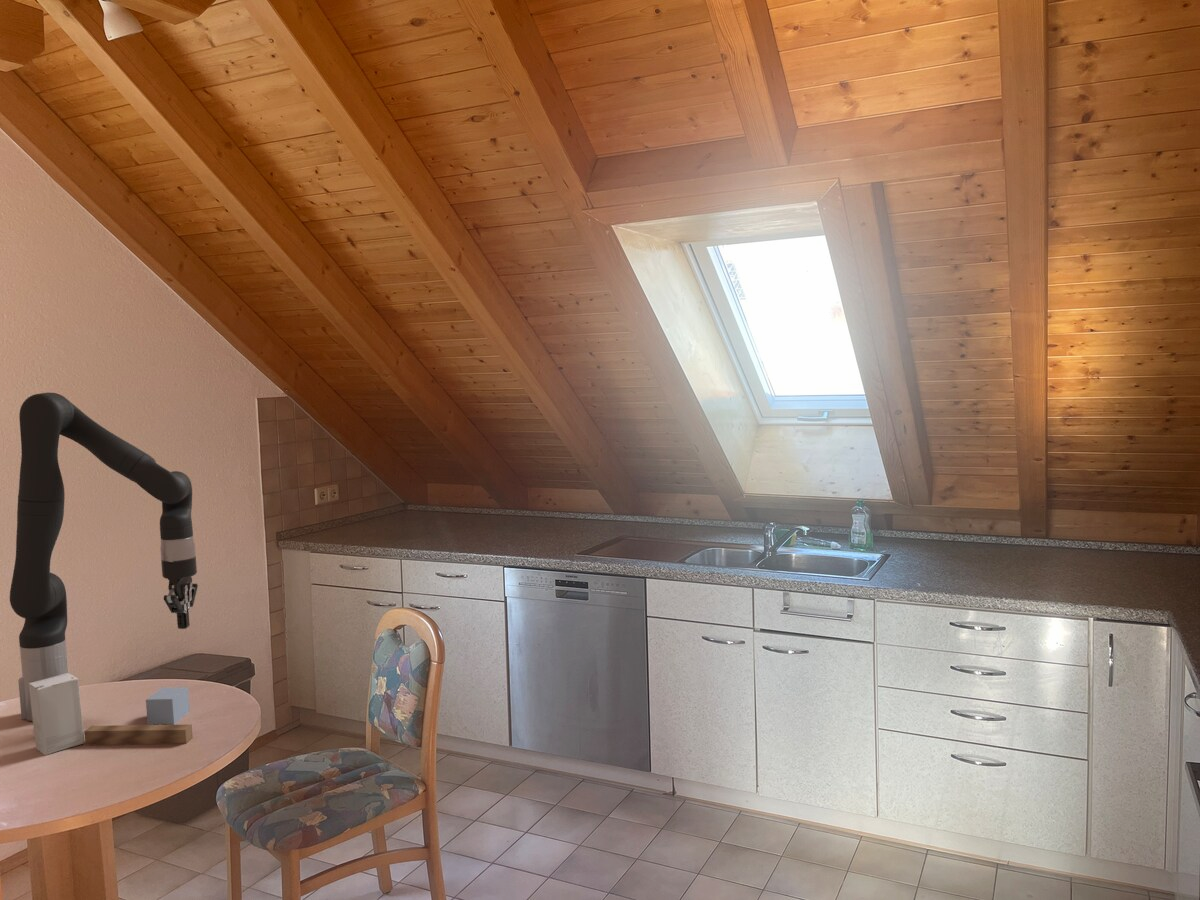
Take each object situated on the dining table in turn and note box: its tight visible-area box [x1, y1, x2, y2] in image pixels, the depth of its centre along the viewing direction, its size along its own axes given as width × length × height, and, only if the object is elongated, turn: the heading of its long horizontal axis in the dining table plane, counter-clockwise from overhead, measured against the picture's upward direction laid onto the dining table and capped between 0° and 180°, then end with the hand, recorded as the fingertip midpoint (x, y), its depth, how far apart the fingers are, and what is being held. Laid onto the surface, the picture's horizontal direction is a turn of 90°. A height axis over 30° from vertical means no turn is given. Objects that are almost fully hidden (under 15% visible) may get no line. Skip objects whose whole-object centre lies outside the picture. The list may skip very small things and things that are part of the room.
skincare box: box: [29, 672, 85, 756], centre depth 205 cm, size 8×6×15 cm
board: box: [83, 723, 194, 746], centre depth 207 cm, size 22×3×3 cm, turn 88°
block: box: [145, 686, 191, 725], centre depth 221 cm, size 6×8×6 cm
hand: (183, 627), depth 229 cm, fingers closed
